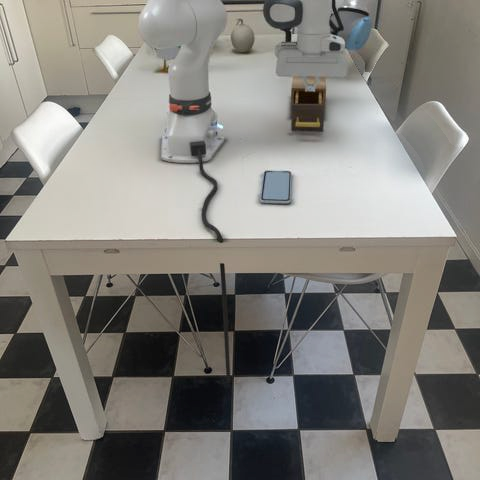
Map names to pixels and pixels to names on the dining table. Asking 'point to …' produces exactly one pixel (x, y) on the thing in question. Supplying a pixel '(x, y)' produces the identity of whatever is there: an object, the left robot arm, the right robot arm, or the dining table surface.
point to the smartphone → (276, 187)
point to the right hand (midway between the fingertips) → (310, 52)
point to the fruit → (242, 37)
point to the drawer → (308, 112)
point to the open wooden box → (299, 86)
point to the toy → (167, 55)
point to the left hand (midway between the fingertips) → (310, 91)
